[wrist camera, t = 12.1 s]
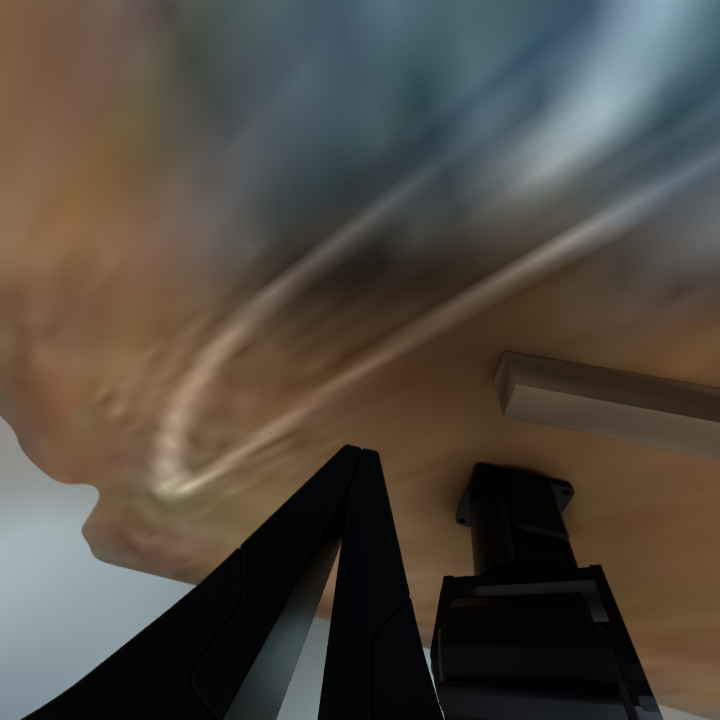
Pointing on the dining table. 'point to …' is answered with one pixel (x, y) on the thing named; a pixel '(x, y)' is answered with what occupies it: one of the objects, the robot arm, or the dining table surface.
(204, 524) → the dining table surface
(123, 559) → the dining table surface
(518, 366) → the chute
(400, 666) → the robot arm
